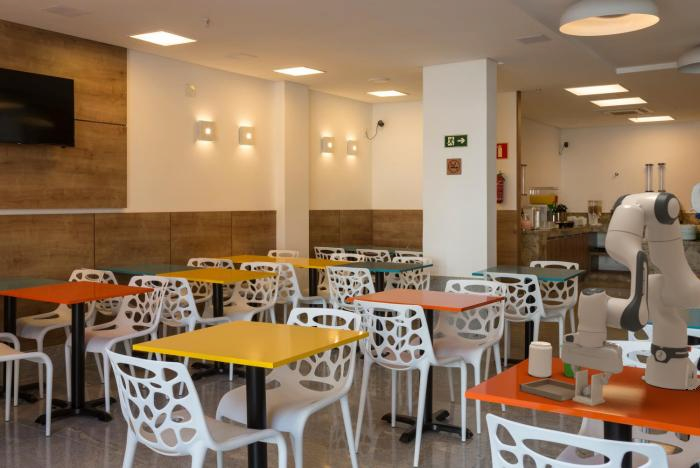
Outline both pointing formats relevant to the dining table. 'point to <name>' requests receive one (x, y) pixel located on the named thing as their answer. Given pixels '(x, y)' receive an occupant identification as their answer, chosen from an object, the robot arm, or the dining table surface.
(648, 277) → the robot arm
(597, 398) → the u-shaped napkin holder
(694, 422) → the dining table surface
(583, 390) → the ball
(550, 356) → the beverage can
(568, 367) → the cup
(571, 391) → the tray
